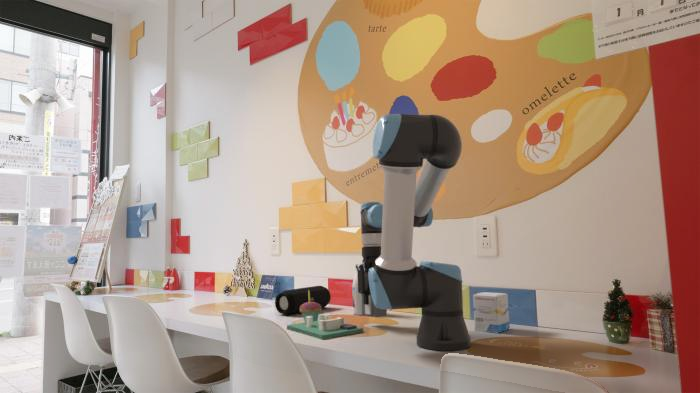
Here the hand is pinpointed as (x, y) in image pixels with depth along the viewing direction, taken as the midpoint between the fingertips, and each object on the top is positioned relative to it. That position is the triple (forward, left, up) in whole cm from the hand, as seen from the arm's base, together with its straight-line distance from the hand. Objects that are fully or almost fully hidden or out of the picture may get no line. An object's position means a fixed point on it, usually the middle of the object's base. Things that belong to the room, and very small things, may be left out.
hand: (374, 313), depth 156 cm
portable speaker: (+46, +1, -5) cm, 46 cm away
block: (0, 0, -1) cm, 1 cm away
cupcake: (+24, +11, -5) cm, 27 cm away
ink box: (-31, -24, -5) cm, 39 cm away
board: (+6, +17, -4) cm, 18 cm away
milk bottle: (+23, -13, -5) cm, 27 cm away
